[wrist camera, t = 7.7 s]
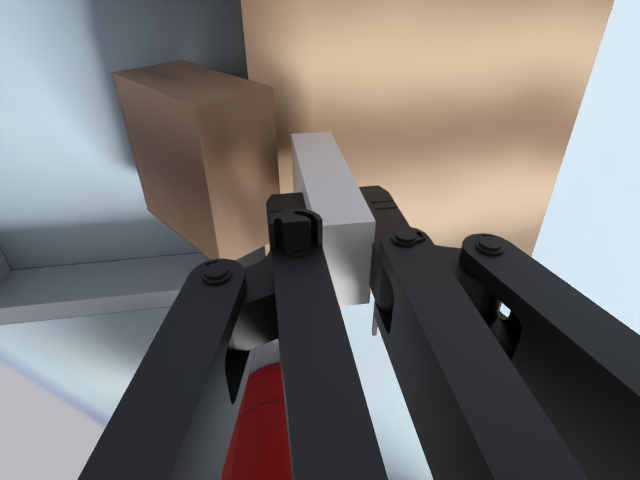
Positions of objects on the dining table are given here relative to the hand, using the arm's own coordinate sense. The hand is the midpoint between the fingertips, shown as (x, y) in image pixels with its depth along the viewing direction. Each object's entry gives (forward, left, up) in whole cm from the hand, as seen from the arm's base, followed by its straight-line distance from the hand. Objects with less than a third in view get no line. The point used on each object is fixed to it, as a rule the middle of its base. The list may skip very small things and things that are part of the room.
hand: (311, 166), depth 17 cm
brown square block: (0, +3, -2) cm, 4 cm away
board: (0, -5, -4) cm, 7 cm away
